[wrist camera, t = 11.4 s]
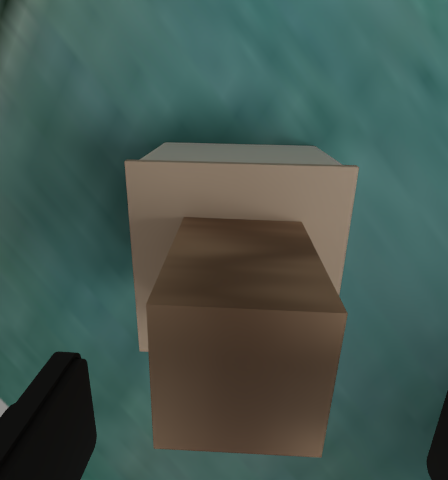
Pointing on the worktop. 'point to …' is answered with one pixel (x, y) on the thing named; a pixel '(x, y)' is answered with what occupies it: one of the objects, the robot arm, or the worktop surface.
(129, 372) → the worktop surface
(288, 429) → the walnut block
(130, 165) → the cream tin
